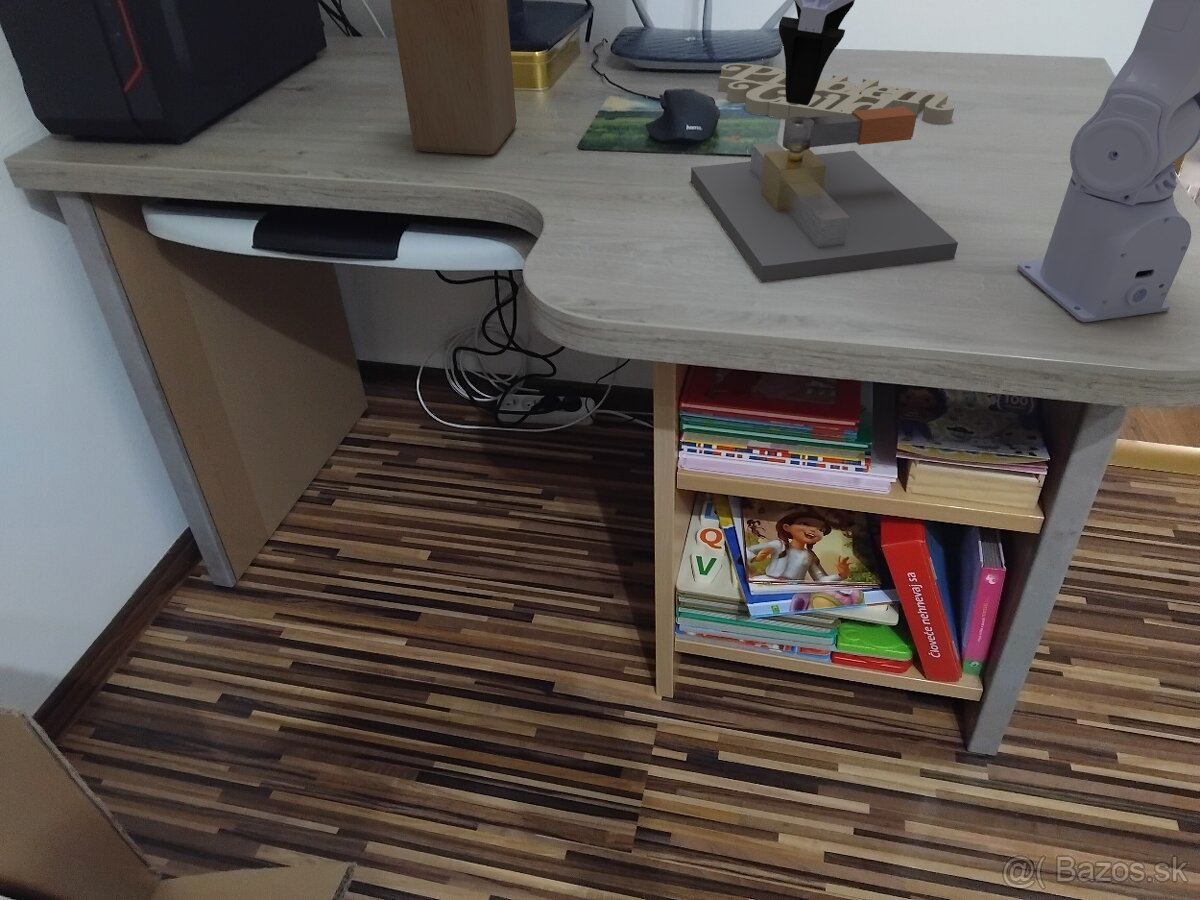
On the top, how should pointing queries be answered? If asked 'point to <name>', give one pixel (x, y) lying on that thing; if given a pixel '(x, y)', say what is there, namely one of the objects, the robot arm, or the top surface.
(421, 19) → the block
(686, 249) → the top surface
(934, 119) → the decorative sign
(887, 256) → the mounting board
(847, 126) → the valve lever
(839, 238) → the ball valve
